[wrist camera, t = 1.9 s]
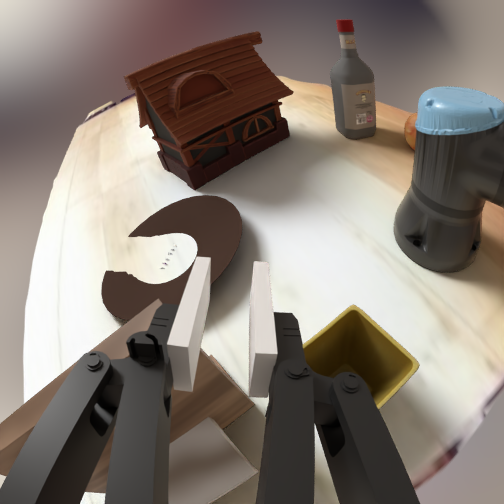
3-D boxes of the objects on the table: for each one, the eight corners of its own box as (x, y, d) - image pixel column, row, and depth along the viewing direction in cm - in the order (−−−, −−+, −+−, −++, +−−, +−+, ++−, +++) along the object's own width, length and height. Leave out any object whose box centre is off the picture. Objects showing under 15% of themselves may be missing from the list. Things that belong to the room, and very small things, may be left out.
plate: (146, 207, 61) (139, 195, 59) (265, 204, 52) (261, 188, 49) (80, 311, 44) (68, 299, 42) (214, 347, 35) (204, 334, 32)
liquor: (380, 135, 62) (372, 20, 40) (349, 141, 62) (335, 20, 40) (361, 122, 68) (351, 19, 47) (333, 128, 68) (317, 20, 47)
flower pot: (398, 391, 25) (422, 364, 19) (338, 444, 23) (345, 439, 17) (347, 341, 31) (353, 301, 25) (289, 388, 29) (278, 361, 23)
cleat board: (296, 447, 24) (258, 425, 10) (147, 537, 17) (6, 545, 3) (214, 358, 33) (127, 249, 19) (93, 444, 27) (-32, 390, 12)
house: (196, 203, 57) (142, 71, 37) (152, 168, 75) (112, 79, 55) (313, 135, 67) (294, 27, 47) (247, 117, 86) (225, 36, 65)
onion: (434, 166, 49) (439, 125, 42) (396, 151, 56) (397, 111, 49) (446, 151, 52) (450, 114, 45) (411, 138, 59) (413, 102, 52)
